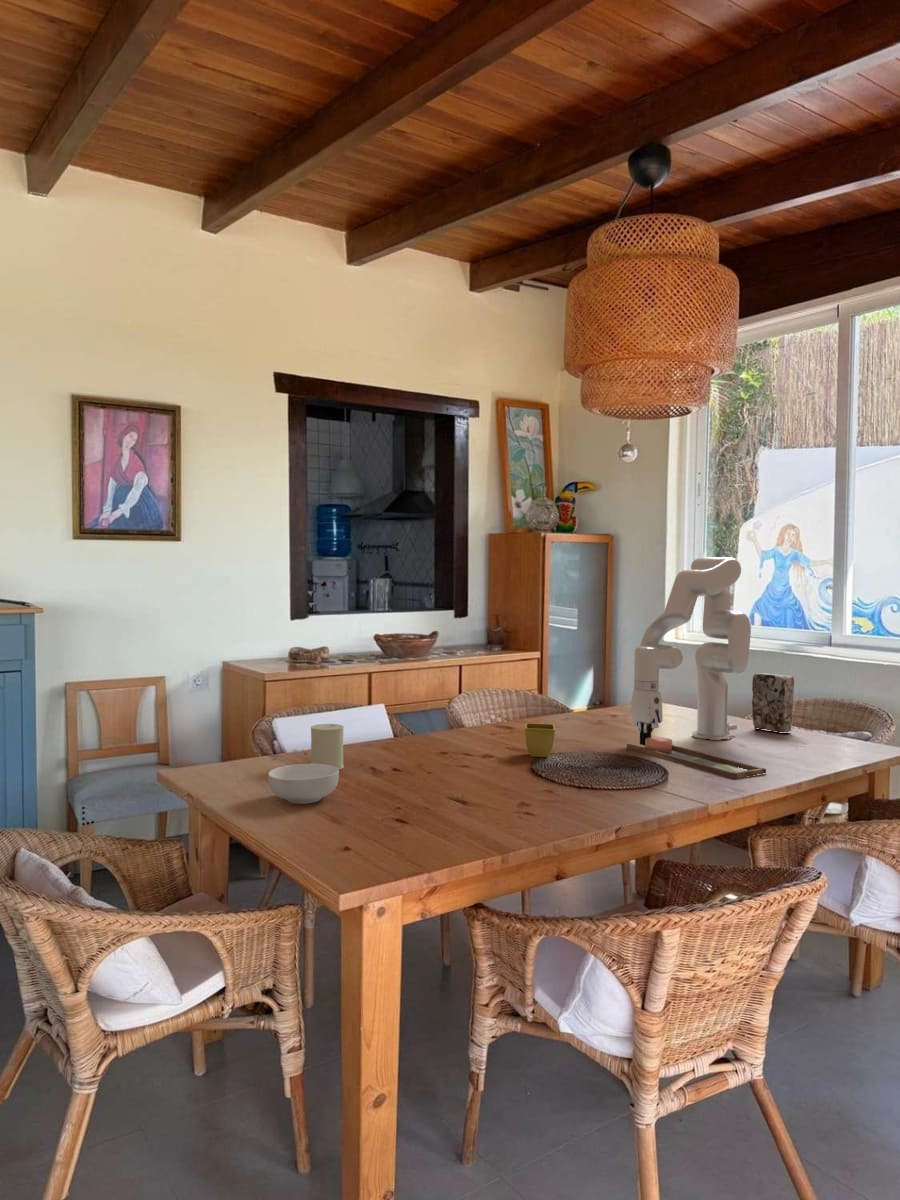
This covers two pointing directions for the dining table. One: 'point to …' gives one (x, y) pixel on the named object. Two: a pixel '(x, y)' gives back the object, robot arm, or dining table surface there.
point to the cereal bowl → (303, 782)
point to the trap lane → (703, 761)
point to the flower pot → (539, 739)
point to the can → (327, 745)
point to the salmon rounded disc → (659, 744)
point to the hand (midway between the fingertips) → (645, 744)
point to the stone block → (772, 701)
